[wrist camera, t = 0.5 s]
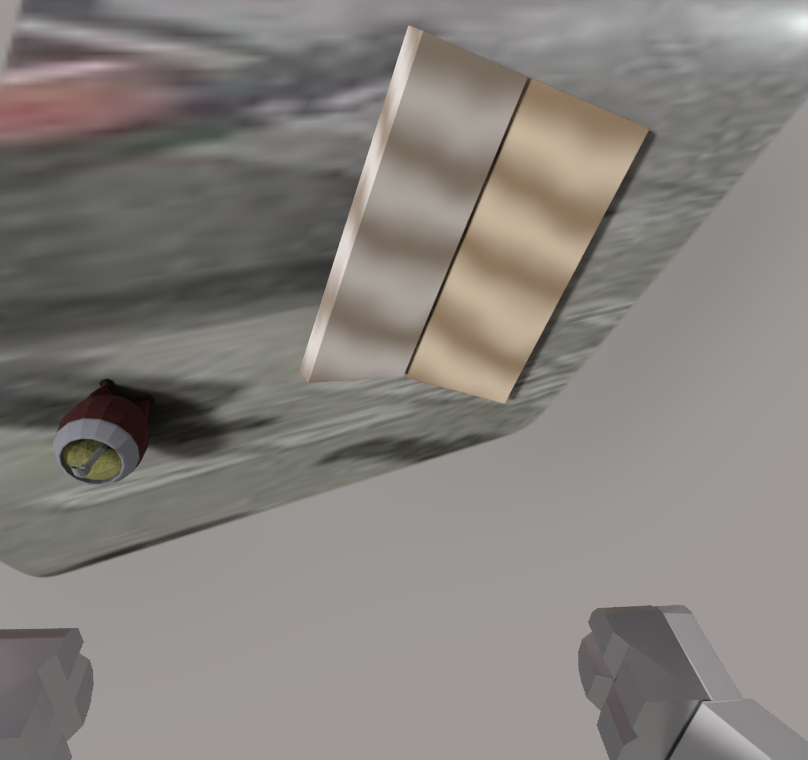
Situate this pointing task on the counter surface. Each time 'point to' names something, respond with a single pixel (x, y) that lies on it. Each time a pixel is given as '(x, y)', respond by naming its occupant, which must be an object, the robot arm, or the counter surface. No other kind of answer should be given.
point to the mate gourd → (103, 436)
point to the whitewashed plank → (410, 207)
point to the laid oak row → (523, 240)
